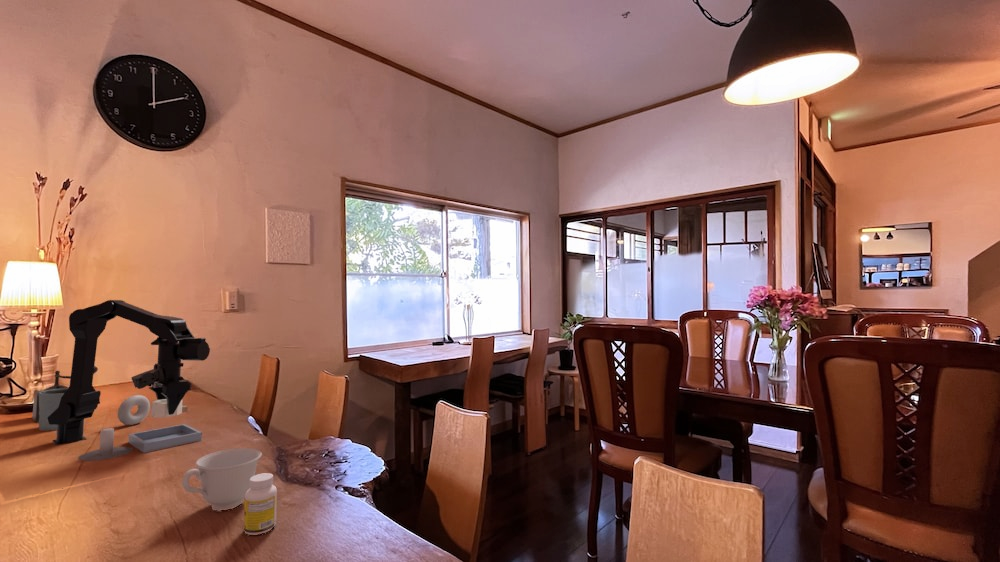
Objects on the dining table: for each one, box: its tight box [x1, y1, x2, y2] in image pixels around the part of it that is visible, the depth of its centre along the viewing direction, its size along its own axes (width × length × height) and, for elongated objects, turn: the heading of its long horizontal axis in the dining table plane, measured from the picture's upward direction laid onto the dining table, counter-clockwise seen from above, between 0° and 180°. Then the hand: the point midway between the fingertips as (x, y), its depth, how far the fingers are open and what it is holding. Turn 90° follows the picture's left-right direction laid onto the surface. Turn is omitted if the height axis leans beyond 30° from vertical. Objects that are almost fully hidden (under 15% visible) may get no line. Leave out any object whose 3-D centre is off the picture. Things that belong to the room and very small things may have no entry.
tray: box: [128, 423, 203, 454], centre depth 131 cm, size 14×14×3 cm
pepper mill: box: [31, 365, 99, 423], centre depth 159 cm, size 16×11×18 cm
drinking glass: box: [38, 388, 68, 432], centre depth 145 cm, size 10×10×12 cm
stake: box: [77, 427, 133, 462], centre depth 120 cm, size 11×11×7 cm
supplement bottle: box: [243, 472, 278, 534], centre depth 83 cm, size 5×5×10 cm
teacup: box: [181, 447, 263, 510], centre depth 91 cm, size 12×15×10 cm
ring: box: [150, 399, 189, 419], centre depth 132 cm, size 7×9×4 cm
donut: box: [117, 394, 151, 426], centre depth 149 cm, size 10×3×10 cm, turn 168°
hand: (166, 412), depth 131 cm, fingers closed on ring, 7 cm apart
